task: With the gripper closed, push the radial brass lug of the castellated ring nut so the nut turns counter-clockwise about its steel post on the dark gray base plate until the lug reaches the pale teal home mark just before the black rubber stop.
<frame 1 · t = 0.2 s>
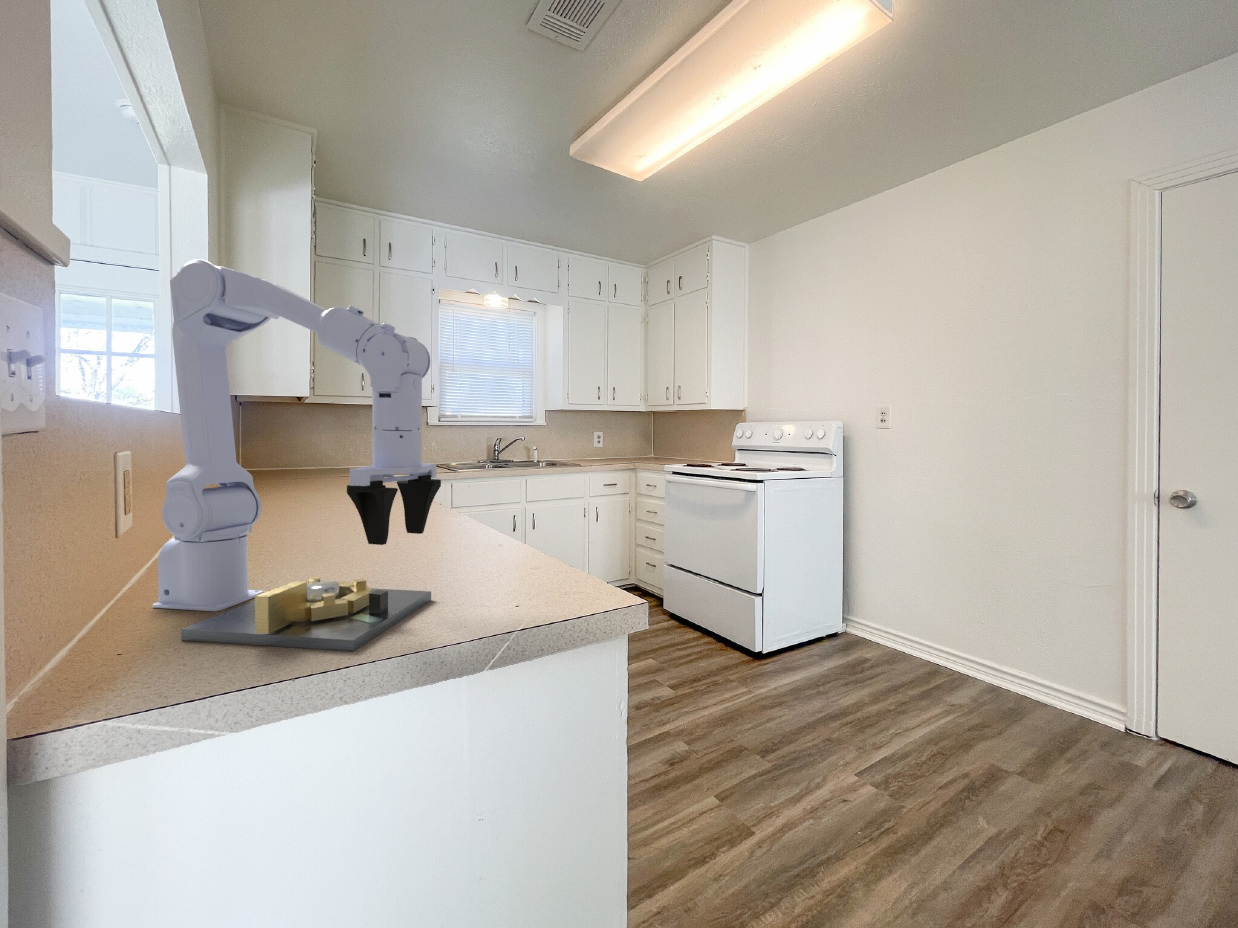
hand: (397, 538, 68), 10 cm above the counter, fingers open, 7 cm apart
dark gray base plate: (321, 617, 66), on the counter
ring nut: (309, 594, 64), point 4 cm above the counter, hinge at 0.0°
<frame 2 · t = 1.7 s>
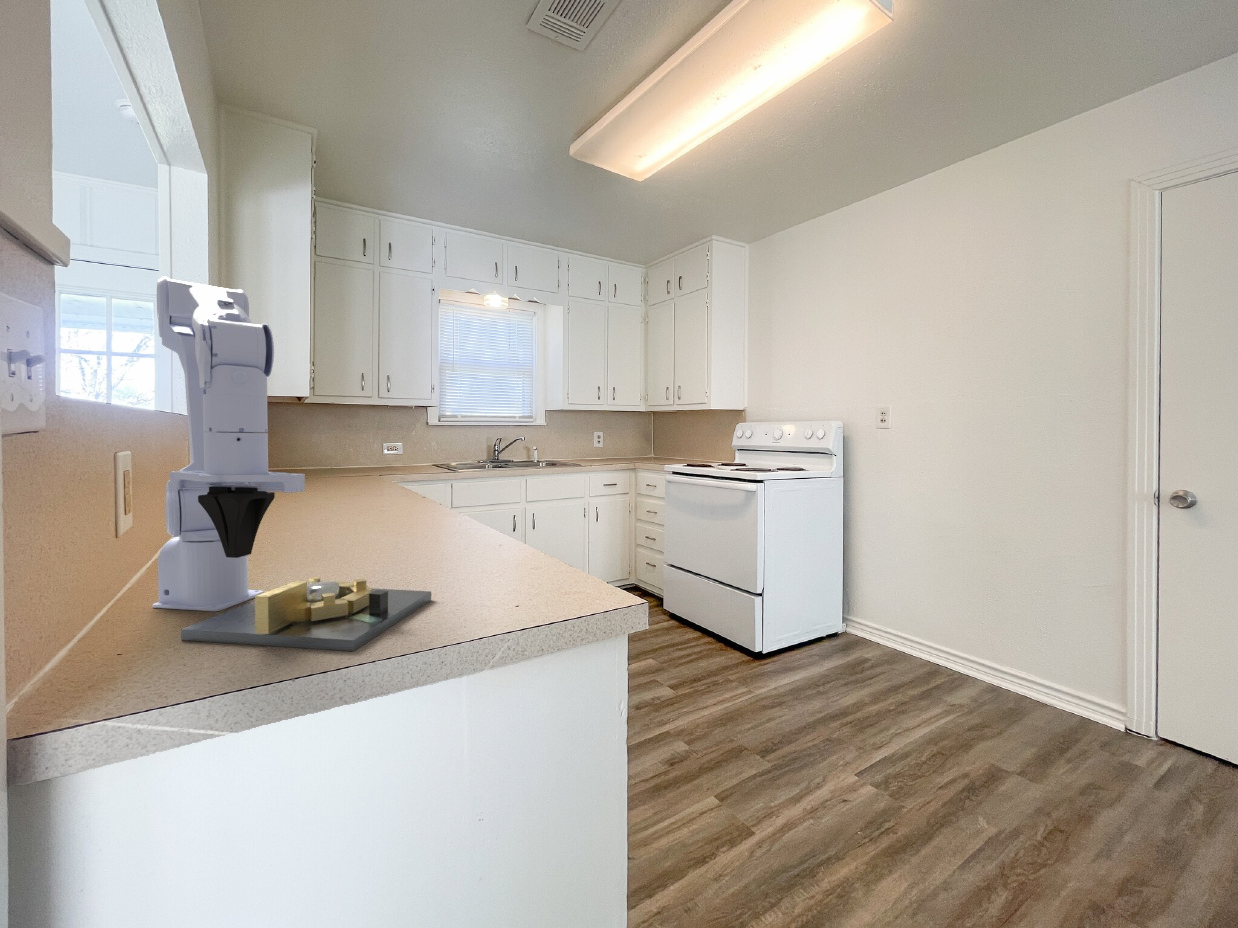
hand: (238, 555, 59), 9 cm above the counter, fingers closed
nothing on the counter moved.
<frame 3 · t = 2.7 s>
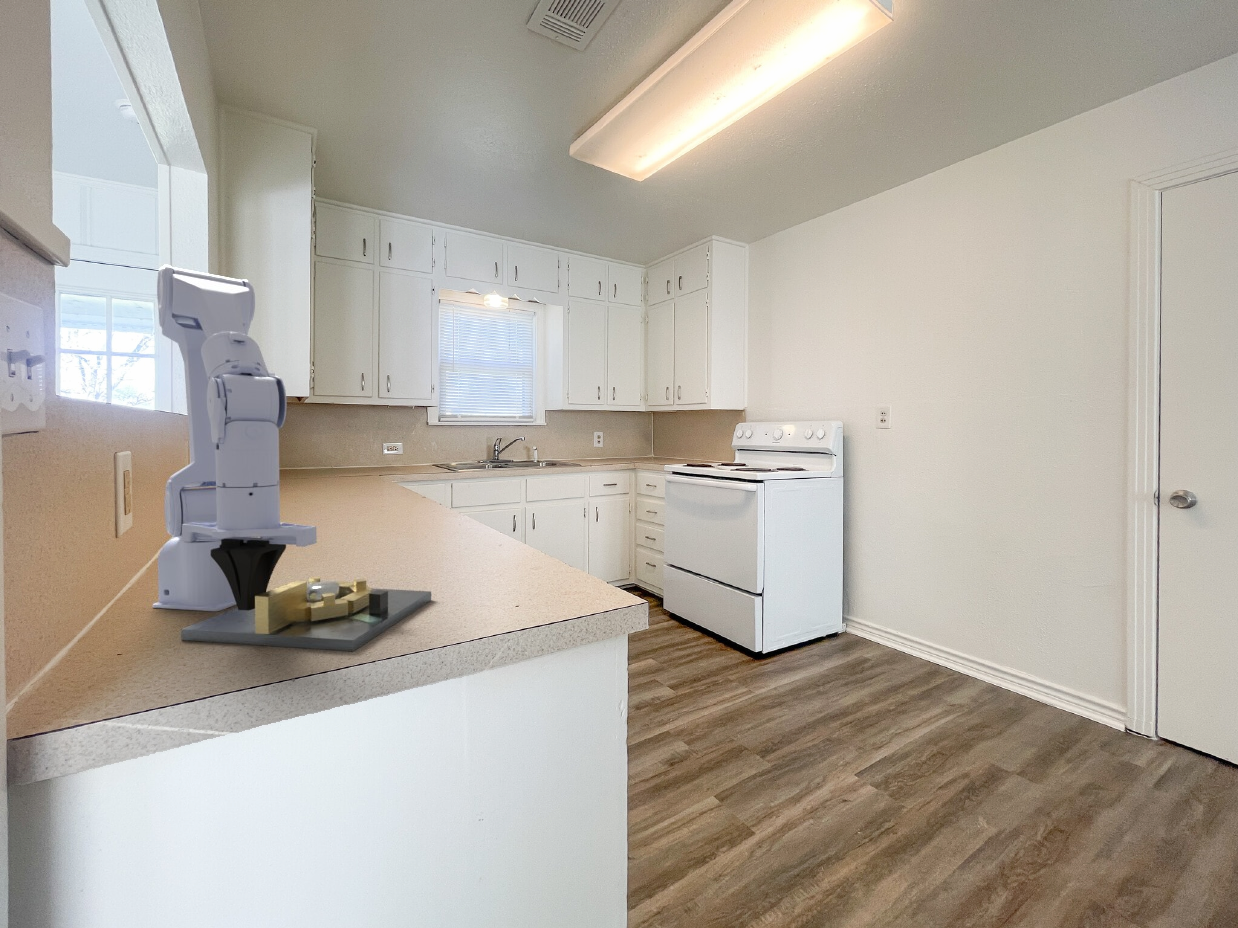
hand: (250, 607, 59), 3 cm above the counter, fingers closed
nothing on the counter moved.
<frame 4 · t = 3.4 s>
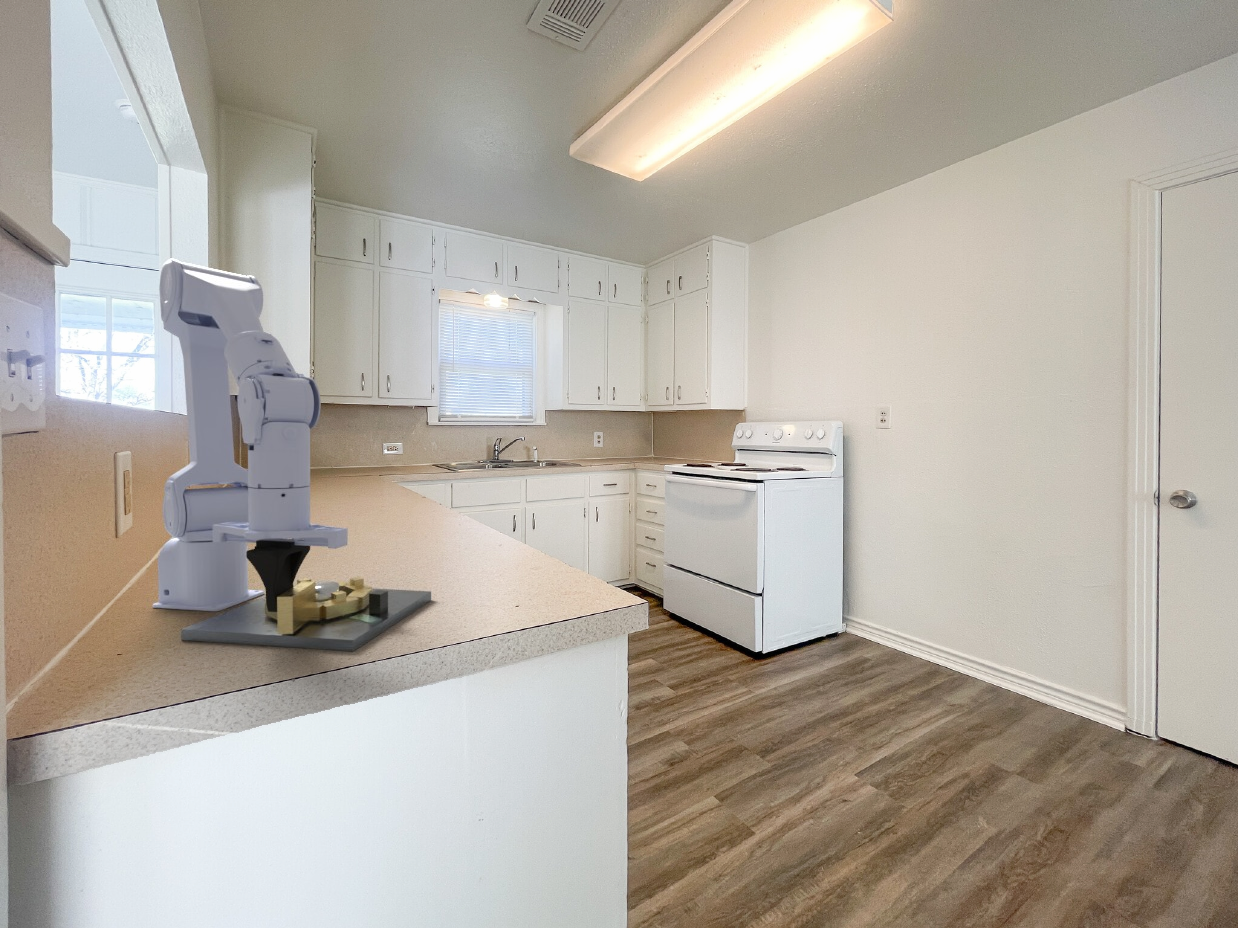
hand: (280, 609, 59), 3 cm above the counter, fingers closed, pressing on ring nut
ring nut: (314, 594, 64), point 3 cm above the counter, hinge at 14.9°, touching gripper
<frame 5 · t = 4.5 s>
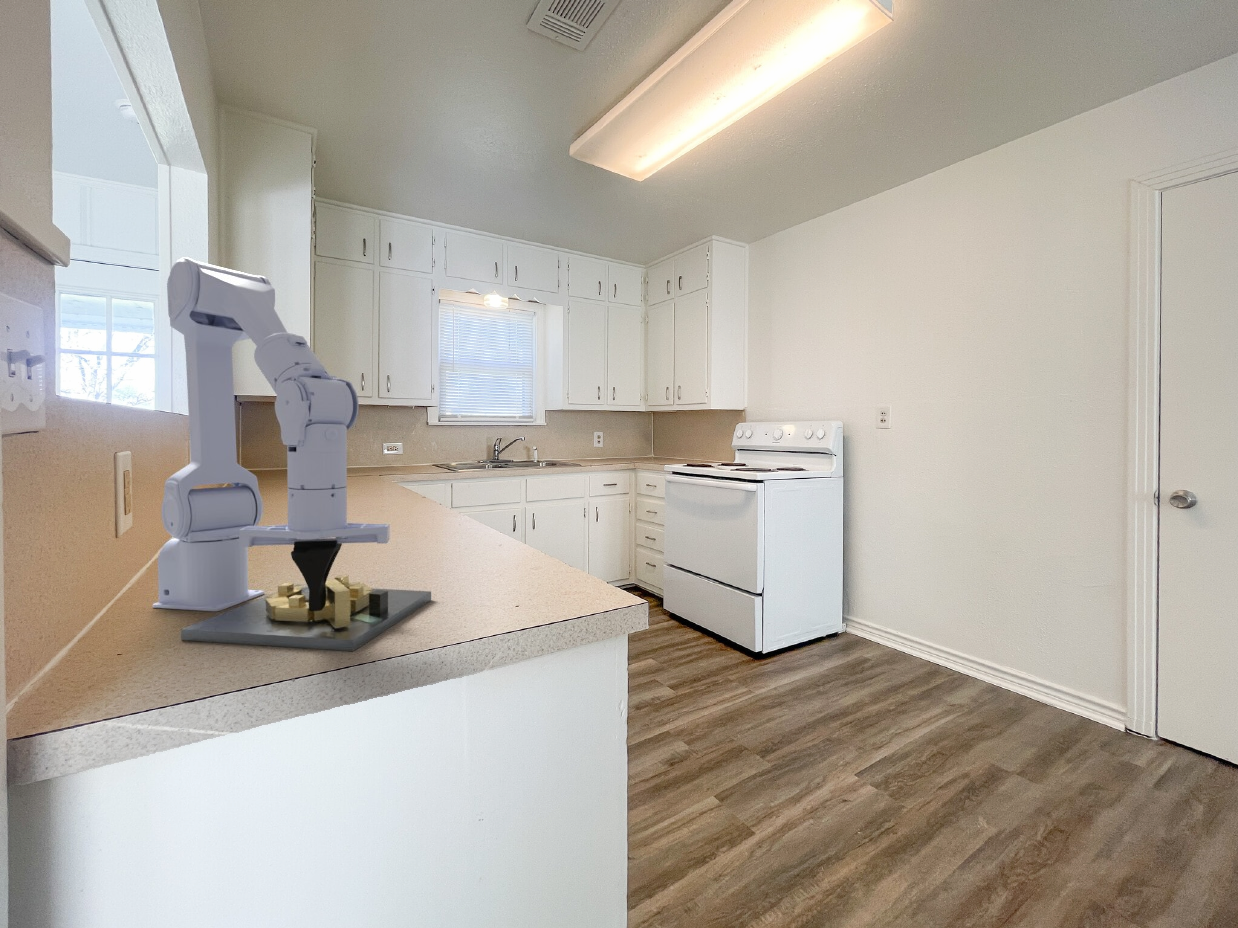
hand: (318, 608, 60), 3 cm above the counter, fingers closed, pressing on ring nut
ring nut: (325, 593, 65), point 3 cm above the counter, hinge at 48.0°, touching gripper
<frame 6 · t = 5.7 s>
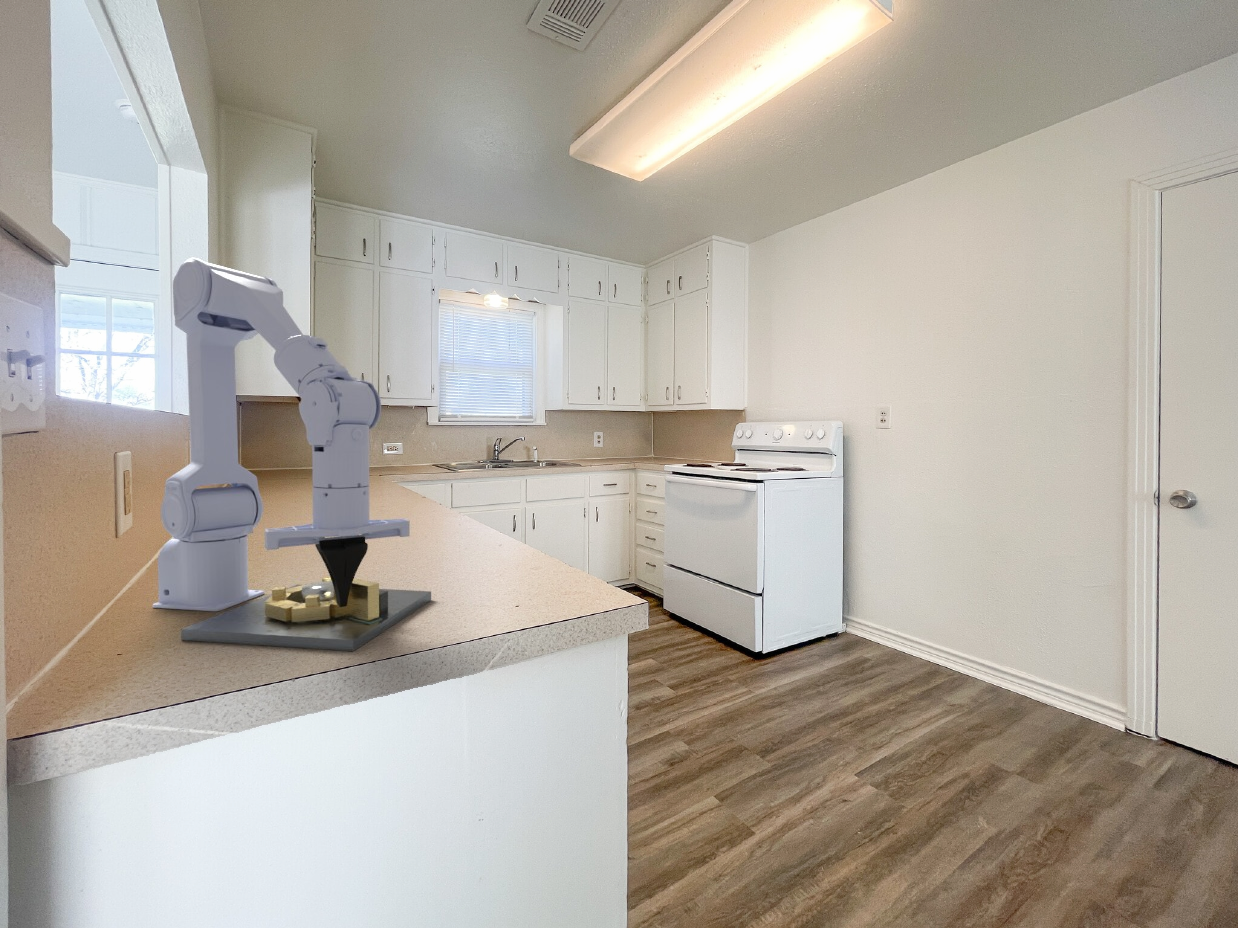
hand: (342, 604, 61), 3 cm above the counter, fingers closed
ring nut: (331, 592, 65), point 4 cm above the counter, hinge at 69.4°, touching gripper
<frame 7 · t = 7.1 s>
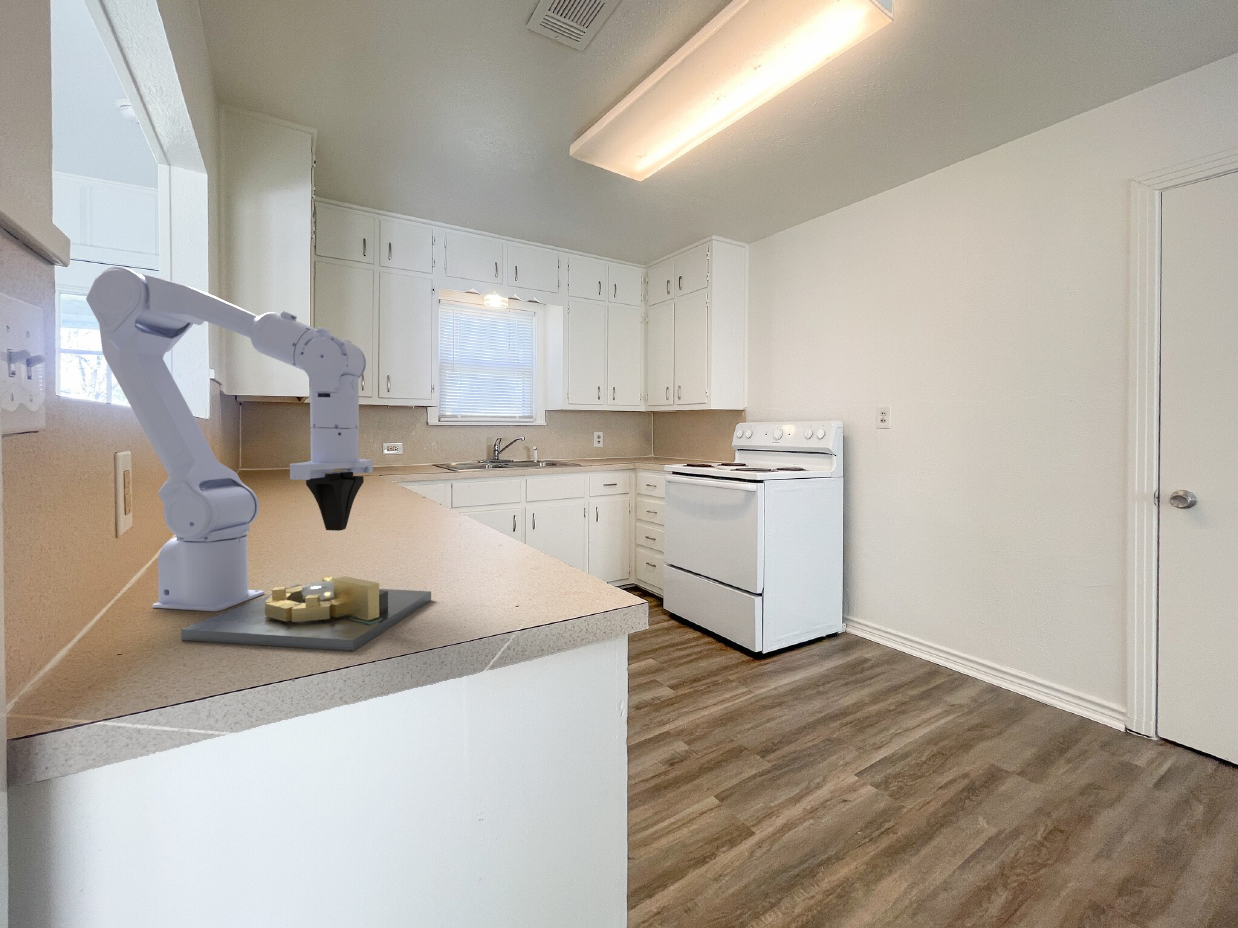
hand: (335, 529, 72), 10 cm above the counter, fingers closed
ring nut: (331, 592, 65), point 3 cm above the counter, hinge at 69.6°
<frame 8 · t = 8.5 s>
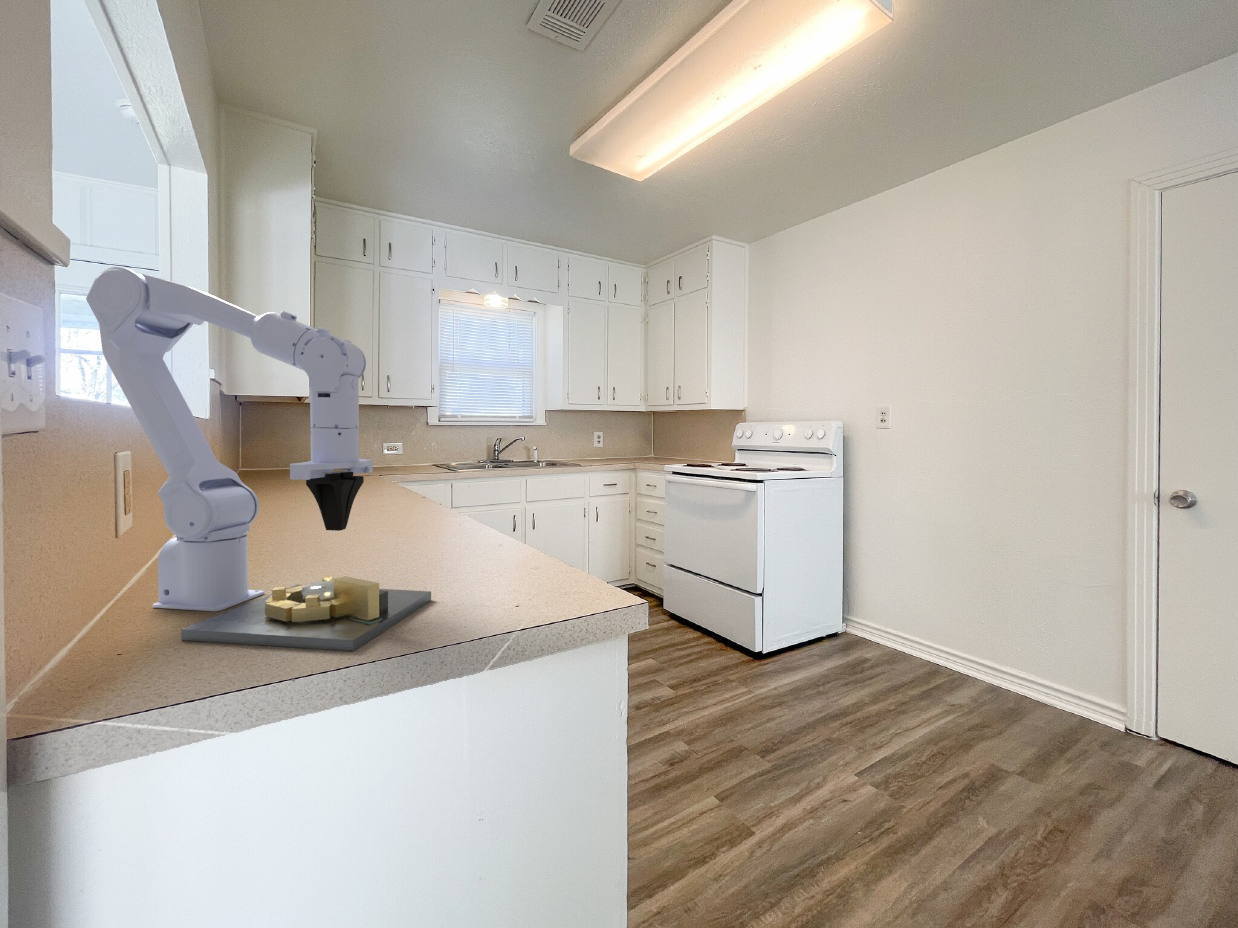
hand: (335, 529, 72), 10 cm above the counter, fingers closed
nothing on the counter moved.
at the end: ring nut at +70° (first picture: +0°); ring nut touching nothing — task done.
